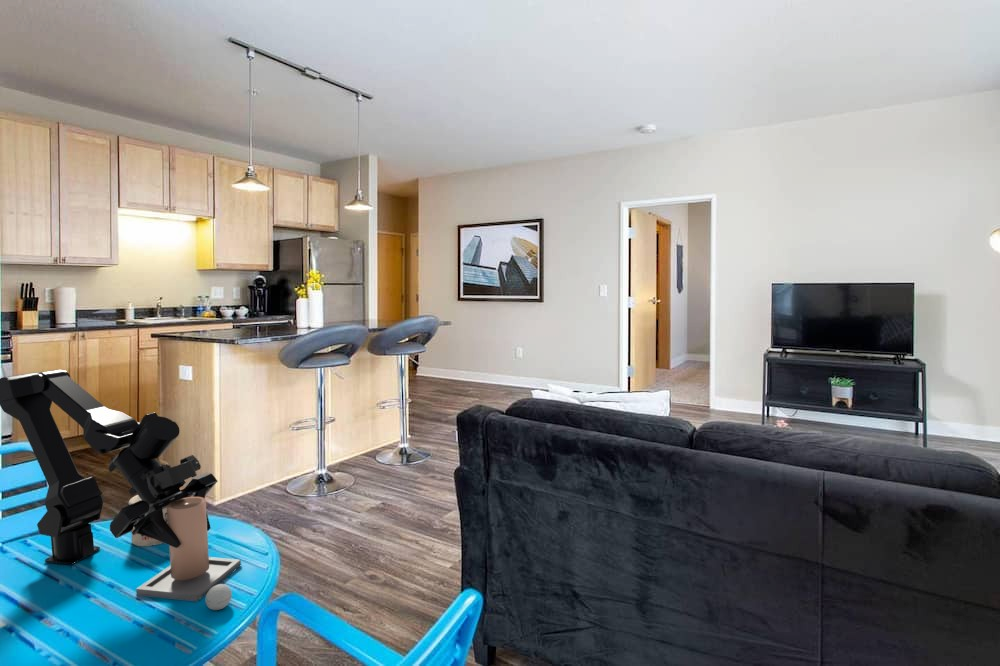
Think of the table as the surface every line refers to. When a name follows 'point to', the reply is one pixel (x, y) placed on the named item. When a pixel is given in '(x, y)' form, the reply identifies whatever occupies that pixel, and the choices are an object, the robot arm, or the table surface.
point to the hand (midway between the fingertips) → (194, 537)
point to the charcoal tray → (188, 581)
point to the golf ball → (218, 597)
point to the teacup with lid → (141, 539)
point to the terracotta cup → (188, 537)
